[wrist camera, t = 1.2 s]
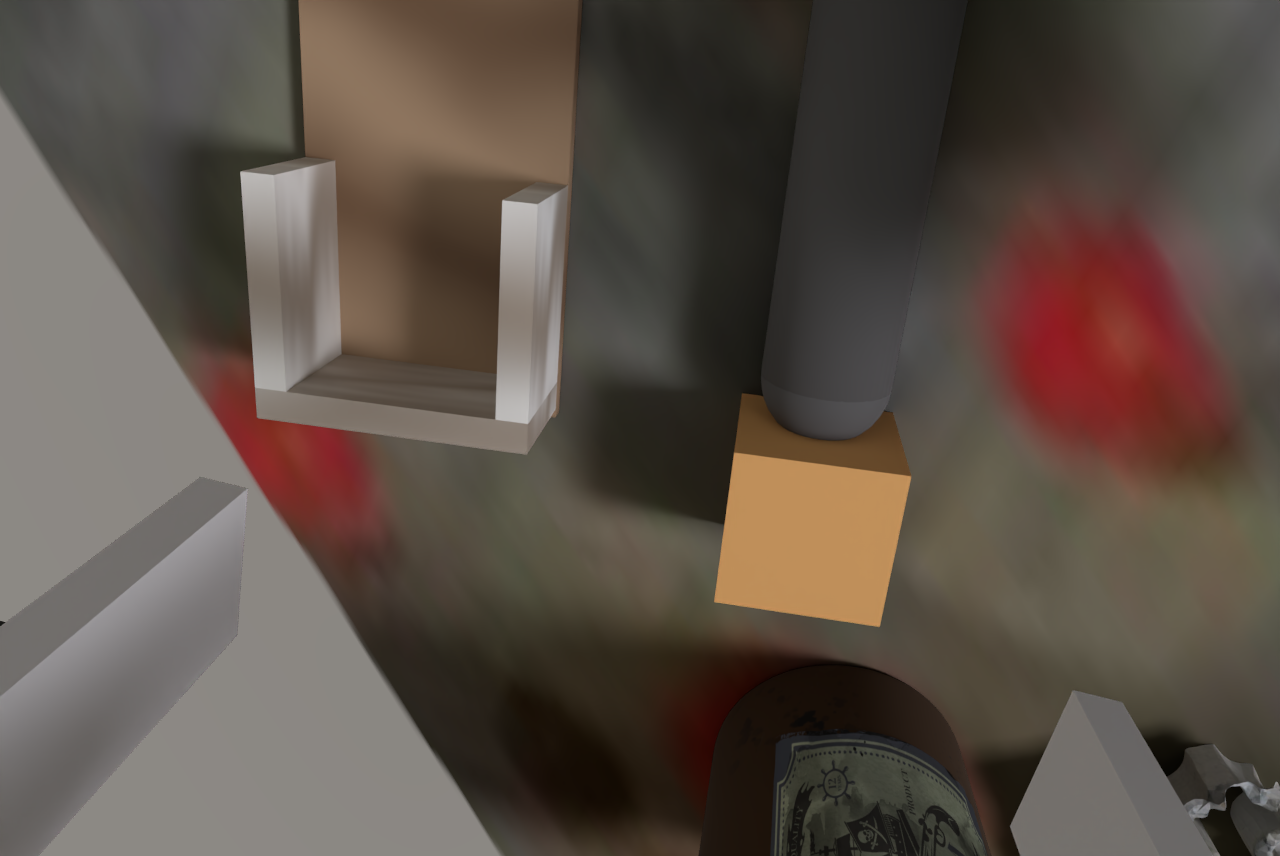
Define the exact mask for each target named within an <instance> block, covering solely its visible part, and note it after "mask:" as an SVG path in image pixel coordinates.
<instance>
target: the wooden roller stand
mask: <svg viewBox="0 0 1280 856" xmlns="http://www.w3.org/2000/svg"><path fill="white" fill-rule="evenodd" d="M582 2H583V0H299V22H300V45H301V68H302V91H303V114H304V137H305V157H304V158H299V159H295V160H290V161H285V162H281V163H276V164H272V165H267V166H263V167H258V168H254V169H249V170H244V171H240V175H241V189H242V204H243V218H244V233H245V247H246V262H247V277H248V291H249V306H250V320H251V335H252V349H253V364H254V378H255V393H256V407H257V418H262V419H269V420H276V421H284V422H291V423H298V424H306V425H313V426H320V427H328V428H335V429H342V430H350V431H357V432H364V433H372V434H379V435H386V436H394V437H401V438H408V439H416V440H423V441H430V442H438V443H445V444H452V445H460V446H467V447H474V448H482V449H489V450H496V451H504V452H511V453H518V454H526V455H527V453H528V452H529V450H530V449H531V447H532V445H533V444H534V442H535V441H536V439H537V438H538V436H539V434H540V433H541V431H542V430H543V428H544V427H545V425H546V424H547V422H548V420H549V419H550V417H556V415H557V414H558V412H559V402H560V384H561V367H562V350H563V332H564V315H565V297H566V280H567V263H568V245H569V228H570V211H571V193H572V176H573V158H574V141H575V124H576V106H577V89H578V71H579V54H580V37H581V19H582Z"/></svg>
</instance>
